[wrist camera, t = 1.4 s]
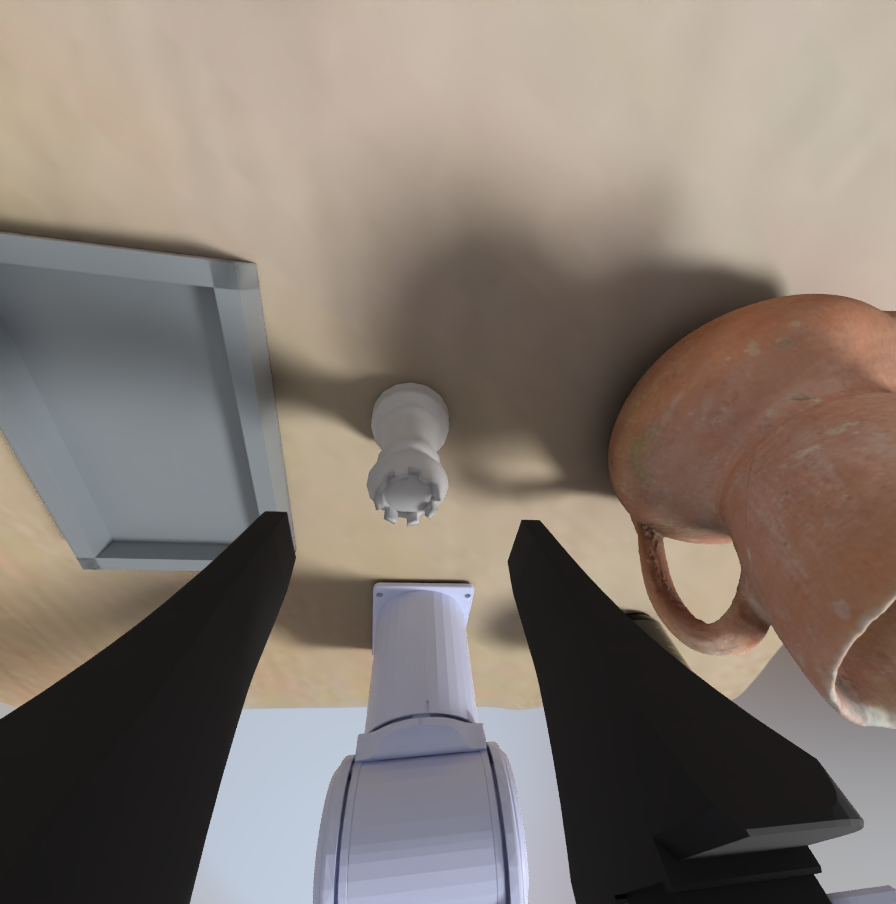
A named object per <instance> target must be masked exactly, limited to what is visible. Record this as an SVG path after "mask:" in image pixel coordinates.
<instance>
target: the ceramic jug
mask: <svg viewBox="0 0 896 904" xmlns="http://www.w3.org/2000/svg"><path fill="white" fill-rule="evenodd" d="M608 469H609V475H610V480H611V484H612V486H613V489H614V491H615V493H616V495H617V497H618V499H619V501H620V502H621V504H622V505H623V506H624V508H625V509H626V510H627V512H628V513H629V514H630V516H631V519H632V522H633V524H634V526H635V530H636V532H637V534H638V545H639V555H640V562H641V569H642V574H643V579H644V584H645V587H646V590H647V594H648V596H649V599H650V601H651V603H652V605H653V607H654V609H655V611H656V613H657V615H658V616H659V618H660V619H661V621H662V622H663V623H664V624H665V626H666V627H667V628H668V629H669V631H670V632H671V633H672V634H673V635H674V636H675V637H676V638H678V639H679V640H680V641H681V642H682V643H684V644H685V645H686V646H688V647H690V648H691V649H693V650H695V651H698V652H701V653H703V654H707V655H712V656H734V655H739V654H743V653H746V652H748V651H750V650H751V649H753V648H754V647H755V646H757V645H758V644H759V643H760V642H761V641H762V639H763V638H764V637H765V635H766V633H767V631H768V629H769V627H770V625H772V627H773V628H774V630H775V632H776V634H777V635H778V637H779V638H780V640H781V641H782V643H783V644H784V646H785V647H786V649H787V650H788V652H789V653H790V654H791V656H792V657H793V659H794V660H795V662H796V663H797V665H798V666H799V667H800V669H801V670H802V672H803V673H804V674H805V676H806V677H807V678H808V679H809V681H810V682H811V683H812V684H813V686H814V687H815V688H816V690H817V691H818V692H819V693H820V695H821V696H822V697H823V698H824V699H825V701H826V702H827V703H828V704H829V705H830V706H831V707H832V708H833V709H835V710H836V711H837V712H838V713H839V714H840V715H841V716H843V717H844V718H846V719H847V720H849V721H851V722H852V723H855V724H858V725H861V726H879V727H888V728H893V729H896V311H881V310H879V309H877V308H875V307H873V306H872V305H869V304H867V303H865V302H862V301H859V300H856V299H853V298H848V297H843V296H838V295H827V294H801V295H791V296H784V297H777V298H773V299H768V300H765V301H761V302H757V303H754V304H750V305H747V306H744V307H742V308H739V309H736V310H734V311H731V312H729V313H726V314H724V315H722V316H719V317H718V318H716V319H714V320H711V321H710V322H708V323H706V324H704V325H702V326H701V327H699V328H697V329H696V330H694V331H693V332H691V333H689V334H688V335H686V336H685V337H684V338H682V339H681V340H679V341H678V342H677V343H675V344H674V345H673V346H672V347H671V348H669V349H668V350H667V351H666V352H665V353H664V354H663V355H662V356H661V357H660V358H659V359H658V360H657V361H656V362H655V363H654V364H653V365H652V366H651V367H650V368H649V369H648V370H647V371H646V372H645V374H644V375H643V376H642V377H641V379H640V380H639V381H638V382H637V384H636V385H635V386H634V388H633V389H632V391H631V392H630V394H629V396H628V397H627V399H626V401H625V402H624V404H623V406H622V408H621V410H620V412H619V414H618V417H617V419H616V422H615V424H614V427H613V430H612V434H611V438H610V442H609V450H608ZM664 537H667V538H671V539H675V540H679V541H684V542H690V543H697V544H729V543H733V544H734V547H735V550H736V552H737V555H738V557H739V561H740V564H741V575H740V579H739V584H738V586H737V592H736V595H735V598H734V599H733V602H732V604H731V606H730V608H729V609H728V610H727V612H726V613H725V614H724V615H723V616H722V617H721V618H720V619H719V620H717V621H716V622H714V623H711V624H706V623H705V622H703V621H702V620H699V619H696V618H695V617H694V616H693V615H692V614H691V613H690V612H689V610H688V609H687V607H685V606H684V604H683V602H682V601H681V599H680V597H679V596H678V594H677V592H676V590H675V587H674V585H673V582H672V579H671V576H670V573H669V568H668V563H667V560H666V555H665V549H664V544H663V538H664Z"/></svg>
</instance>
